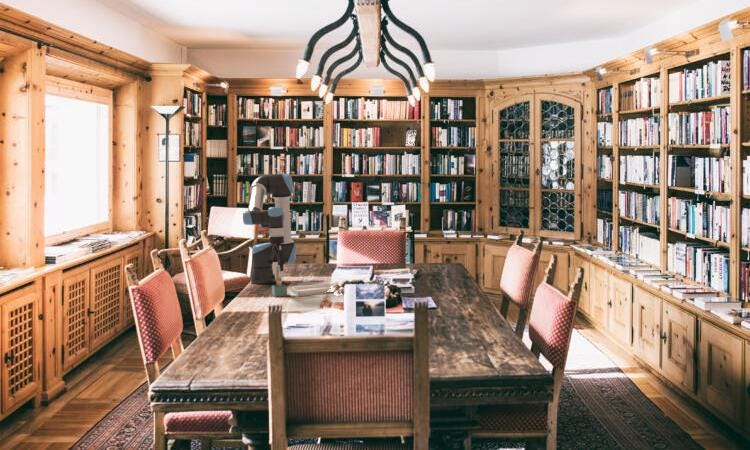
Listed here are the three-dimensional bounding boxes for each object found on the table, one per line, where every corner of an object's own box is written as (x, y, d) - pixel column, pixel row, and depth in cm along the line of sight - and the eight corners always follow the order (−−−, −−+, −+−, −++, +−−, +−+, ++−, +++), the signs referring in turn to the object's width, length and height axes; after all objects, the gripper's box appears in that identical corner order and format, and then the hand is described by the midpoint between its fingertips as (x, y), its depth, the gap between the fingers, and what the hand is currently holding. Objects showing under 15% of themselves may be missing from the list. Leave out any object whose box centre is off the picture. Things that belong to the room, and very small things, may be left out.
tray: (290, 291, 377) (290, 287, 377) (329, 287, 385) (328, 283, 385) (298, 296, 363) (298, 291, 362) (338, 291, 371) (337, 287, 370)
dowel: (276, 294, 369) (275, 265, 368) (281, 294, 370) (280, 264, 369) (277, 295, 366) (276, 266, 365) (282, 295, 367) (281, 265, 366)
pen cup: (272, 294, 370) (271, 285, 370) (284, 293, 372) (283, 284, 372) (275, 296, 364) (274, 287, 363) (287, 295, 366) (286, 286, 366)
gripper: (264, 234, 376) (266, 273, 377) (275, 238, 353) (277, 279, 354) (278, 233, 378) (280, 272, 380) (289, 237, 355) (291, 277, 357)
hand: (278, 275), depth 367 cm, fingers open, 13 cm apart
